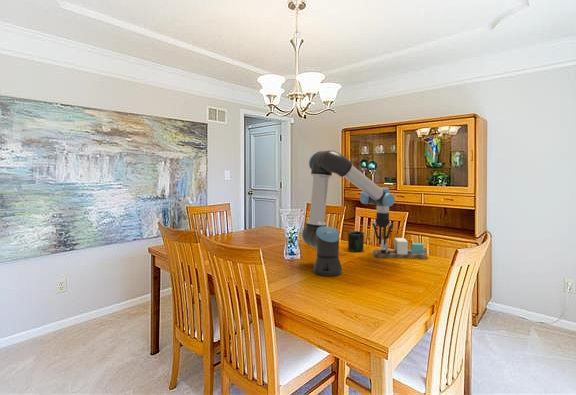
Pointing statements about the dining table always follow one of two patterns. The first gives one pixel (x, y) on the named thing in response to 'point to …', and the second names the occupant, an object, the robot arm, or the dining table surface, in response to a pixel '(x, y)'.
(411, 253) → the sled
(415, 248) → the block
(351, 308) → the dining table surface
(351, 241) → the mug
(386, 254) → the deck
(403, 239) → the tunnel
